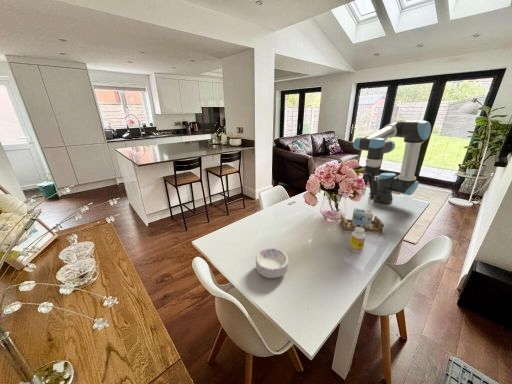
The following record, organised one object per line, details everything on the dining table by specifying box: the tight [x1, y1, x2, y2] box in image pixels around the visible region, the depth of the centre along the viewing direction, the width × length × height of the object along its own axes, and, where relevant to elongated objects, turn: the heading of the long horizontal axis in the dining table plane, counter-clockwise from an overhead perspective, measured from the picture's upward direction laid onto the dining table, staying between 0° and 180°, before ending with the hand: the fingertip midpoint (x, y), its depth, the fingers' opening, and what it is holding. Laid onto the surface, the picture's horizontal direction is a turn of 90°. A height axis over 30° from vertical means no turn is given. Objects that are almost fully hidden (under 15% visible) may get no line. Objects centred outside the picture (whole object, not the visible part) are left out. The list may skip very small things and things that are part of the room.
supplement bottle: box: [349, 227, 366, 253], centre depth 113 cm, size 7×7×13 cm
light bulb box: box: [351, 207, 374, 228], centre depth 134 cm, size 11×7×11 cm, turn 72°
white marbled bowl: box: [255, 247, 289, 279], centre depth 99 cm, size 15×15×8 cm
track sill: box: [339, 213, 385, 234], centre depth 135 cm, size 11×22×6 cm, turn 83°
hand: (365, 199), depth 129 cm, fingers open, 13 cm apart
